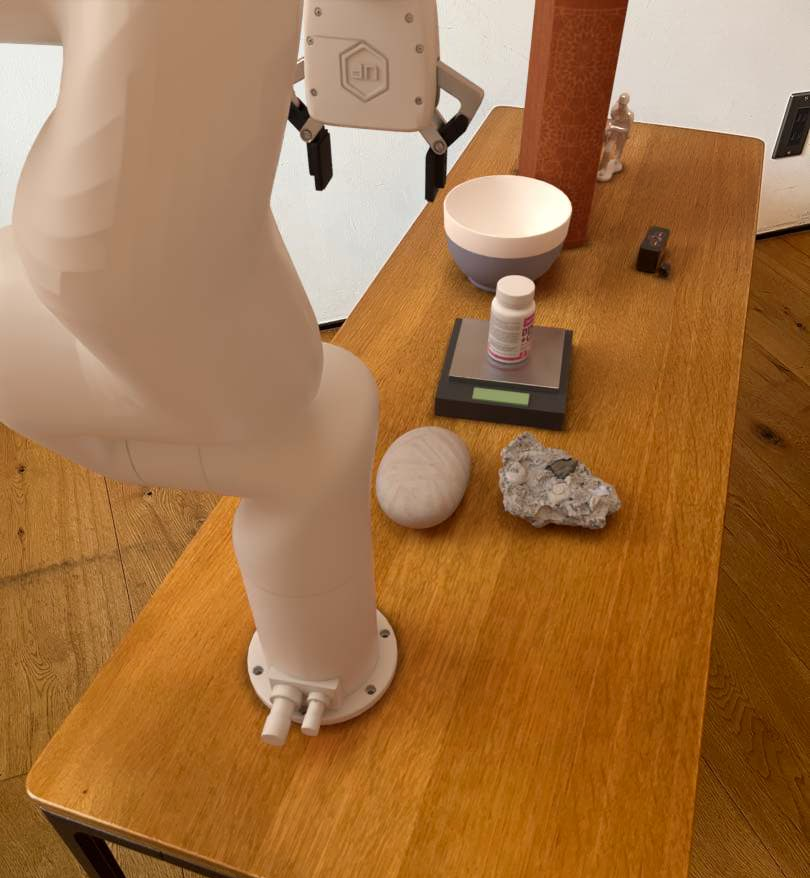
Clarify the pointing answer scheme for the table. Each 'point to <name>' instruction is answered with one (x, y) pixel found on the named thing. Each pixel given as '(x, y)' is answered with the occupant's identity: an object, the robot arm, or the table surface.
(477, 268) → the bowl
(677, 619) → the table surface
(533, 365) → the scale pan
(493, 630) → the table surface
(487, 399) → the scale
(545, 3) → the book
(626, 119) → the figurine
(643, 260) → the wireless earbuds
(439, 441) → the decorative stone
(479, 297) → the table surface
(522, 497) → the mineral specimen
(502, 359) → the pill bottle
